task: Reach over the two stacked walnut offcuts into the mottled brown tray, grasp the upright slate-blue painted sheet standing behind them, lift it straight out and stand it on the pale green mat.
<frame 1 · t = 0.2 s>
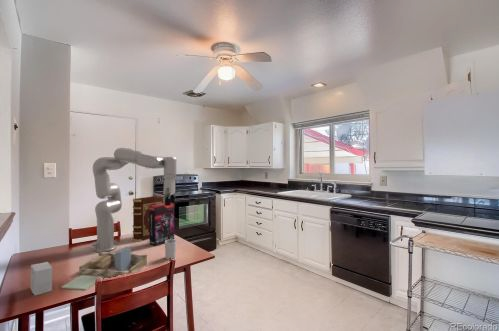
hand: (169, 203, 160), 31 cm above the table, tool pointing down, fingers open, 9 cm apart
mat: (83, 282, 121), on the table
mottled brown tray: (114, 269, 135), on the table
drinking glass: (170, 257, 153), on the table
offcut lower: (101, 269, 136), on the table, touching offcut upper
offcut upper: (101, 264, 136), point 3 cm above the table, touching offcut lower
graphics card box: (161, 242, 181), on the table
decorative book: (147, 237, 193), on the table
skincare box: (41, 289, 114), on the table
sheet: (123, 270, 135), on the table
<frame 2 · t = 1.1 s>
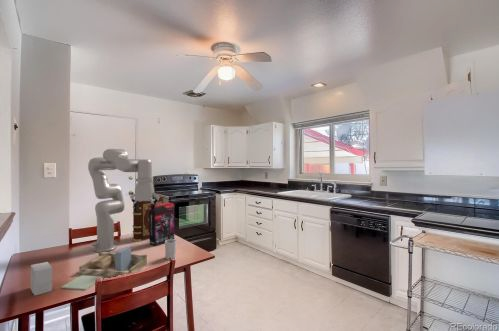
hand: (144, 210, 147), 29 cm above the table, tool pointing down, fingers open, 9 cm apart
nothing on the table moved.
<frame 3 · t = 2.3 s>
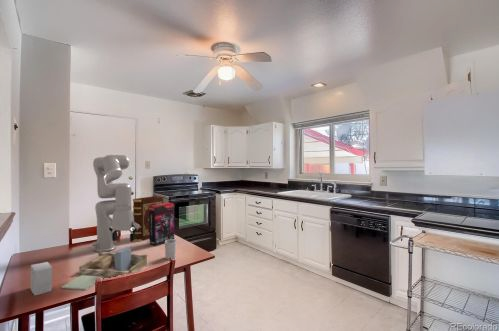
hand: (123, 240, 134), 16 cm above the table, tool pointing down, fingers open, 9 cm apart
nothing on the table moved.
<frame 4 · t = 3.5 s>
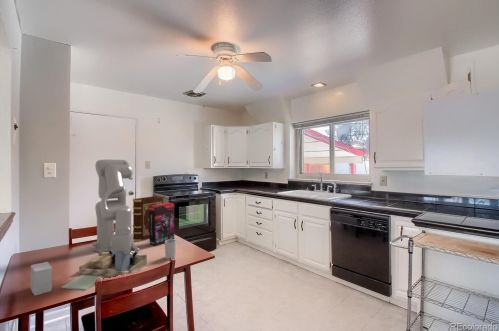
hand: (123, 263, 135), 3 cm above the table, tool pointing down, fingers open, 9 cm apart
offcut lower: (101, 269, 136), on the table
offcut upper: (101, 264, 136), point 2 cm above the table
everything else where it was.
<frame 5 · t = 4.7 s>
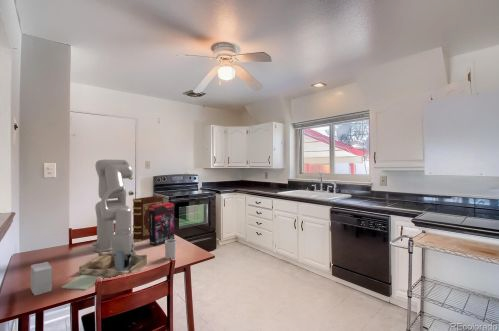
hand: (123, 266, 135), 2 cm above the table, tool pointing down, fingers closed on sheet, 3 cm apart
offcut lower: (101, 269, 136), on the table, touching offcut upper
offcut upper: (101, 264, 136), point 3 cm above the table, touching offcut lower
sheet: (123, 270, 135), on the table, touching gripper
everything else where it was.
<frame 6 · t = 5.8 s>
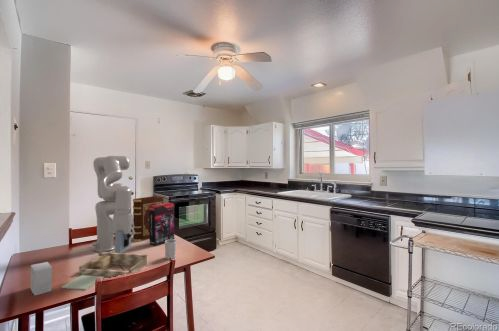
hand: (123, 245, 135), 13 cm above the table, tool pointing down, fingers closed on sheet, 3 cm apart
sheet: (123, 249, 135), point 11 cm above the table, touching gripper
everything else where it was.
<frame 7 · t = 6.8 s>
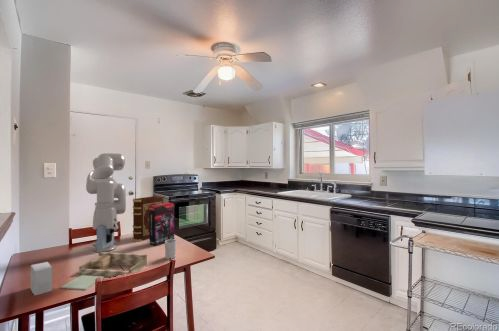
hand: (105, 241, 128), 17 cm above the table, tool pointing down, fingers closed on sheet, 3 cm apart
offcut lower: (100, 269, 136), on the table
offcut upper: (101, 264, 137), point 2 cm above the table
sheet: (105, 245, 128), point 15 cm above the table, touching gripper
everything else where it was.
when the fingers open (4 cm above the table, at t = 10.1 s): sheet stays where it is, resting on mat.
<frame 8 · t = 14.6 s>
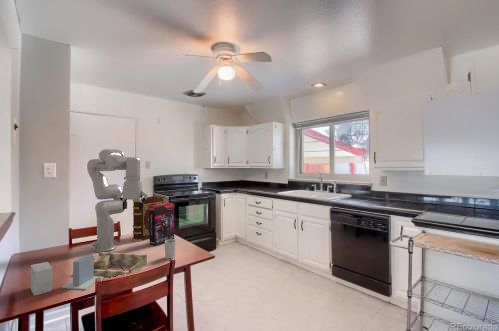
hand: (133, 209, 145), 30 cm above the table, tool pointing down, fingers open, 9 cm apart
sheet: (83, 281, 121), point 1 cm above the table, touching mat
at the end: sheet inside the target area on the mat (0.1 cm from its centre), point 0.6 cm above the mat's base; sheet tilted 0°; the gripper is holding nothing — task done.
